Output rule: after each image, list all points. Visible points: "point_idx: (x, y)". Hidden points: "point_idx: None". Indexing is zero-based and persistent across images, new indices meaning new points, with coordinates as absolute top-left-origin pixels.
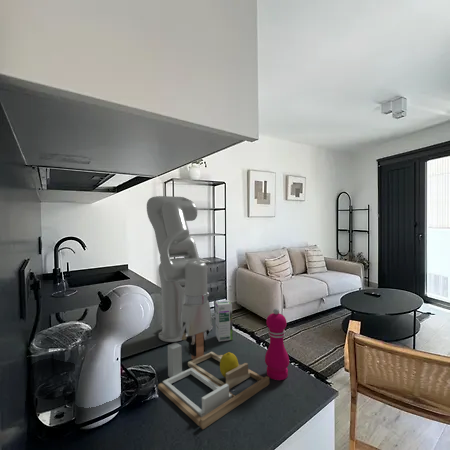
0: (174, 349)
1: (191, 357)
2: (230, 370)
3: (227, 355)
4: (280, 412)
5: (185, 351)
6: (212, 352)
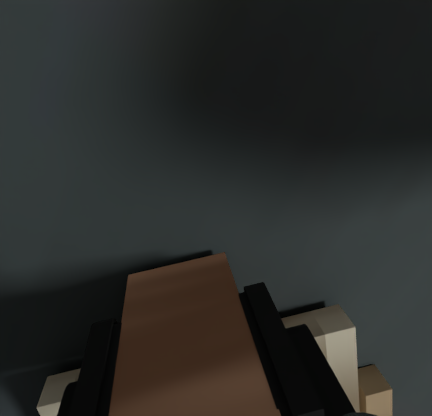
0: None
1: (127, 284)
2: None
3: None
4: None
5: (130, 48)
6: (347, 346)
